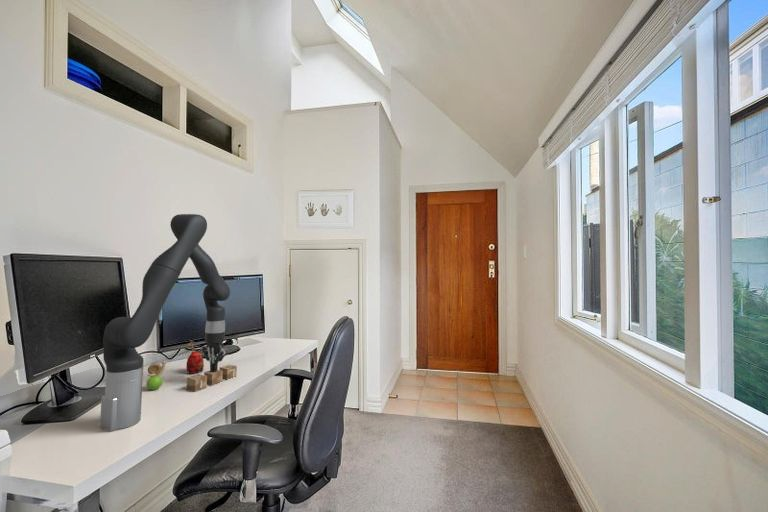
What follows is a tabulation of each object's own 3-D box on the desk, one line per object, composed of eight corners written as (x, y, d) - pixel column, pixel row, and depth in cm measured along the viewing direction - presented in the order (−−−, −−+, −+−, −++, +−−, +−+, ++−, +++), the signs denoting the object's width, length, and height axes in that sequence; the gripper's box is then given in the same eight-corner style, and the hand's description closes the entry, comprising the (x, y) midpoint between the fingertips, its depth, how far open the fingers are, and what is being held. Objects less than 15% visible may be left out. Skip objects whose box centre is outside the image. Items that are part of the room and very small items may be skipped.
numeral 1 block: (195, 392, 128) (195, 379, 128) (186, 390, 130) (187, 377, 130) (206, 388, 133) (207, 375, 133) (198, 386, 135) (198, 373, 135)
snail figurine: (166, 388, 131) (168, 358, 131) (147, 393, 126) (149, 362, 127) (163, 385, 135) (164, 356, 135) (144, 389, 130) (146, 359, 130)
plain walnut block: (211, 386, 135) (212, 374, 135) (203, 384, 137) (204, 372, 137) (222, 382, 140) (222, 370, 140) (214, 380, 142) (214, 369, 142)
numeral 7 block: (227, 380, 142) (227, 368, 142) (219, 378, 144) (219, 367, 144) (236, 377, 146) (237, 365, 147) (228, 375, 149) (229, 364, 149)
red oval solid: (196, 374, 148) (198, 341, 149) (181, 374, 148) (183, 341, 149) (206, 369, 156) (208, 338, 156) (192, 369, 156) (193, 337, 156)
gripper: (196, 330, 138) (195, 371, 138) (218, 333, 133) (216, 376, 133) (212, 327, 145) (210, 366, 145) (233, 330, 140) (232, 371, 139)
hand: (213, 371), depth 139 cm, fingers closed
